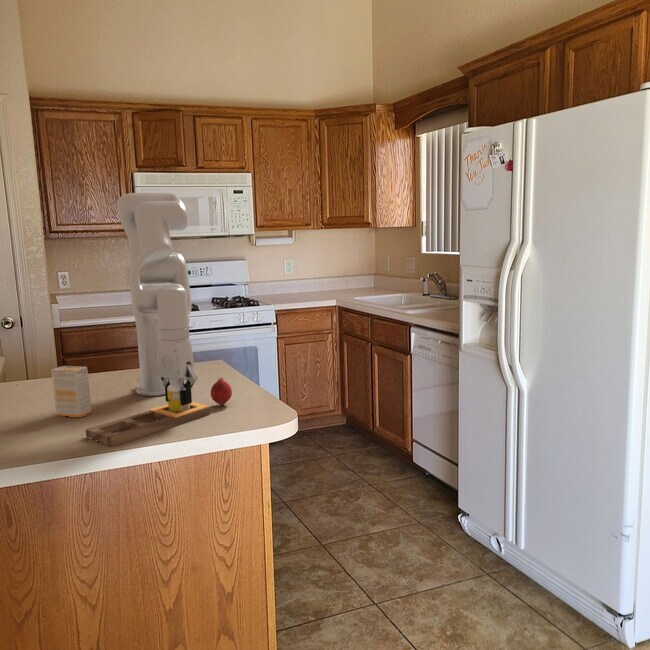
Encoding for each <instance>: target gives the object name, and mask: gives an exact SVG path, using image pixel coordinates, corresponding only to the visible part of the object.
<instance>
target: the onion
mask: <svg viewBox="0 0 650 650" xmlns="http://www.w3.org/2000/svg"><path fill="white" fill-rule="evenodd" d="M232 391H233V390H232V387H231V385H230V384H229V383H228V382H227V381H225V380H224V378H223V377H219V378H218V380H217V381H216V382H215V383H213V384H212V386H211V389H210V396H211V397H210V398H211V399H212V400H213V401H214V402H215V403H216V404H217V405H220V406H221V405H222V406H224V405H226V403H227V402H229V400H230V399H231V398H232V397H233V396H232V395H233V392H232Z"/></svg>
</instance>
